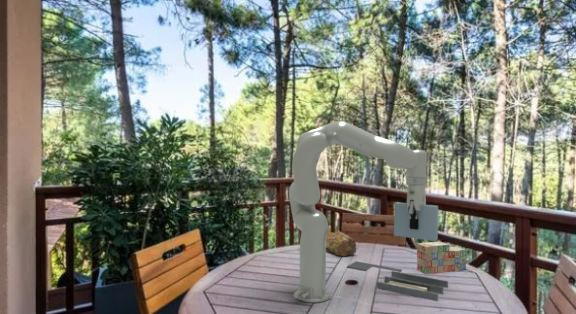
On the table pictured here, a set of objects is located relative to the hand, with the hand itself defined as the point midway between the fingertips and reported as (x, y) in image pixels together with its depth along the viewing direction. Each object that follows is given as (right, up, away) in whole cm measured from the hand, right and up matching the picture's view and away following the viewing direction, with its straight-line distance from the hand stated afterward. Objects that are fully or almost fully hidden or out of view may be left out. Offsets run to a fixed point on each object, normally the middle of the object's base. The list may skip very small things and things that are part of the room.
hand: (415, 227), depth 150 cm
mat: (-11, -23, +22) cm, 34 cm away
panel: (0, -4, 0) cm, 4 cm away
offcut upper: (-5, -22, -6) cm, 24 cm away
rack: (-2, -23, -2) cm, 23 cm away
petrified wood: (-23, -23, +50) cm, 60 cm away
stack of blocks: (+19, -23, +22) cm, 37 cm away
